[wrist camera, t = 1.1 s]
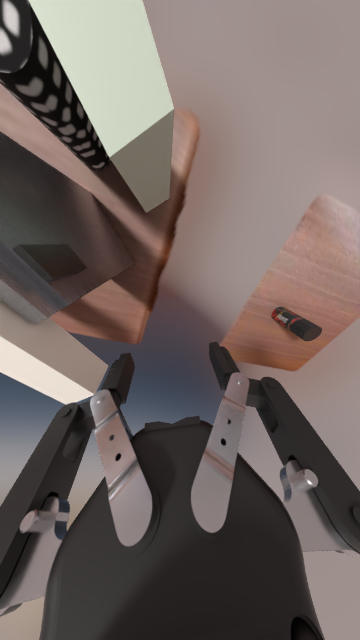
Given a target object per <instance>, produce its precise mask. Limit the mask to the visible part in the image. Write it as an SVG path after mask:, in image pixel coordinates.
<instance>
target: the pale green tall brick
mask: <svg viewBox="0 0 360 640" xmlns="http://www.w3.org/2000/svg"><path fill="white" fill-rule="evenodd" d="M29 2H30V4H31V6H32V8H33V10H34V12H35V14H36V16H37V18H38V20H39V22H40V24H41V26H42V28H43V29H44V31H45V33H46V35H47V37H48V39H49V41H50V43H51V45H52V47H53V49H54V51H55V53H56V55H57V57H58V59H59V61H60V63H61V65H62V66H63V68H64V70H65V72H66V74H67V76H68V78H69V80H70V82H71V84H72V86H73V88H74V90H75V92H76V94H77V96H78V98H79V100H80V101H81V103H82V105H83V107H84V109H85V111H86V113H87V115H88V117H89V119H90V121H91V123H92V125H93V127H94V129H95V131H96V133H97V135H98V137H99V138H100V140H101V142H102V144H103V146H104V148H105V150H106V152H107V154H108V156H109V158H110V159H111V161H112V162H113V164H114V165H115V167H116V168H117V170H118V171H119V173H120V174H121V176H122V177H123V179H124V180H125V182H126V183H127V185H128V186H129V188H130V189H131V191H132V192H133V194H134V195H135V197H136V198H137V200H138V201H139V203H140V204H141V206H142V207H143V209H144V210H145V212H146V213H147V212H149V211H150V210H152V209H153V208H155V207H157V206H158V205H160V204H161V203H163V202H164V201H166V200H167V199H169V194H170V175H171V157H172V138H173V120H174V107H173V103H172V100H171V96H170V93H169V90H168V86H167V83H166V79H165V76H164V73H163V69H162V66H161V62H160V59H159V56H158V52H157V49H156V45H155V42H154V39H153V35H152V32H151V28H150V25H149V22H148V18H147V15H146V11H145V8H144V5H143V1H142V0H29Z"/></svg>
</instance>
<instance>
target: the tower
mask: <svg viewBox="0 0 360 640" xmlns="http://www.w3.org/2000/svg"><path fill="white" fill-rule="evenodd" d="M134 264H135V262H134V261H133V259H132V257H131V256H130V254H129V253H128V251H127V249H126V248H125V246H124V245H123V243H122V241H121V240H120V238H119V237H118V235H117V233H116V232H115V230H114V229H113V227H112V225H111V224H110V222H109V221H108V219H107V217H106V216H105V214H104V213H103V211H102V209H101V208H100V206H99V205H98V203H97V201H96V200H95V198H94V197H93V195H92V193H91V192H89V191H88V190H86V189H85V188H83V187H82V186H80V185H79V184H77V183H76V182H74V181H73V180H71V179H70V178H68V177H67V176H65V175H64V174H62V173H61V172H59V171H58V170H57V169H55V168H54V167H52V166H51V165H49V164H48V163H46V162H45V161H43V160H42V159H40V158H39V157H37V156H36V155H34V154H33V153H31V152H30V151H28V150H27V149H25V148H24V147H22V146H21V145H19V144H18V143H16V142H15V141H13V140H12V139H10V138H9V137H8V136H6V135H5V134H3V133H2V132H0V299H1V300H2V301H3V302H5V303H6V304H7V305H9V306H10V307H11V308H13V309H14V310H15V311H17V312H18V313H20V314H21V315H22V316H24V317H25V318H26V319H28V320H29V321H30V322H32V323H33V324H34V325H36V324H38V323H40V322H41V321H43V320H45V319H47V318H48V317H50V316H52V315H53V314H55V313H56V312H58V311H60V310H61V309H63V308H64V307H66V306H68V305H70V304H71V303H73V302H75V301H76V300H78V299H79V298H81V297H83V296H84V295H86V294H87V293H89V292H91V291H92V290H94V289H95V288H97V287H99V286H100V285H102V284H103V283H105V282H107V281H108V280H110V279H111V278H113V277H114V276H116V275H118V274H119V273H121V272H122V271H124V270H126V269H127V268H129V267H130V266H132V265H134Z"/></svg>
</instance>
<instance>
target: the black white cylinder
mask: <svg viewBox="0 0 360 640" xmlns="http://www.w3.org/2000/svg"><path fill="white" fill-rule="evenodd" d="M0 83H1V84H2V85H3V86H4V87H5V88H6V89H7V90H8V91H9V92H10V93H11V94H12V95H13V96H14V97H15V98H16V99H17V100H18V101H20V102H21V103H22V104H23V105H24V106H25V107H26V108H27V109H28V110H29V111H30V112H31V113H32V114H33V115H34V116H35V117H36V118H37V119H38V120H39V121H40V122H41V123H42V124H43V125H44V126H45V127H46V128H47V129H48V130H50V131H51V132H52V133H53V134H54V135H55V136H56V137H57V138H58V139H59V140H60V141H61V142H62V143H63V144H64V145H65V146H66V147H67V148H68V149H69V150H70V151H71V152H72V153H73V154H74V155H75V156H76V157H77V158H79V159H80V160H81V161H82V162H83V163H84V164H85V165H86V166H87V167H89V168H91V169H93V170H103V169H105V168H106V167H107V166H108V164H109V163H110V160H111V159H110V158H109V156H108V154H107V152H106V150H105V148H104V146H103V144H102V142H101V140H100V138H99V137H98V135H97V133H96V131H95V129H94V127H93V125H92V123H91V121H90V119H89V117H88V115H87V113H86V111H85V109H84V107H83V105H82V103H81V101H80V100H79V98H78V96H77V94H76V92H75V90H74V88H73V86H72V84H71V82H70V80H69V78H68V76H67V74H66V72H65V70H64V68H63V66H62V65H61V63H60V61H59V59H58V57H57V55H56V53H55V51H54V49H53V47H52V45H51V43H50V41H49V39H48V37H47V35H46V33H45V31H44V29H43V28H42V26H41V24H40V22H39V20H38V18H37V16H36V14H35V12H34V10H33V8H32V6H31V4H30V2H29V0H0Z"/></svg>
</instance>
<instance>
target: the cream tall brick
mask: <svg viewBox="0 0 360 640" xmlns="http://www.w3.org/2000/svg"><path fill="white" fill-rule="evenodd" d="M107 368H108V365H107V364H105V363H104V362H103V361H102V360H101V359H99V358H98V357H97V356H96V355H94V354H93V353H92V352H91V351H89V350H88V349H87V348H86V347H85V346H83V345H82V344H81V343H80V342H78V341H77V340H76V339H75V338H74V337H72V336H71V335H70V334H69V333H67V332H66V331H65V330H64V329H63V328H61V327H60V326H59V325H58V324H56V323H55V322H54V321H53V320H52V319H50V318H49V317H48V318H47V319H45V320H43V321H41V322H40V323H38V324H36V325H34V324H33V323H32V322H30V321H29V320H28V319H26V318H25V317H24V316H22V315H21V314H20V313H18V312H17V311H15V310H14V309H13V308H11V307H10V306H9V305H7V304H6V303H5V302H3V301H2V300H1V299H0V372H1V373H3V374H5V375H7V376H10V377H11V378H13V379H15V380H17V381H19V382H22V383H24V384H26V385H28V386H30V387H32V388H34V389H36V390H38V391H40V392H42V393H44V394H46V395H48V396H50V397H52V398H54V399H56V400H58V401H60V402H62V403H64V404H66V405H67V404H69V403H72V402H78V401H80V400H83V399H85V398H87V397H90V396H92V395H95V393H96V391H97V388H98V386H99V384H100V382H101V380H102V378H103V376H104V374H105V372H106V370H107Z"/></svg>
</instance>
